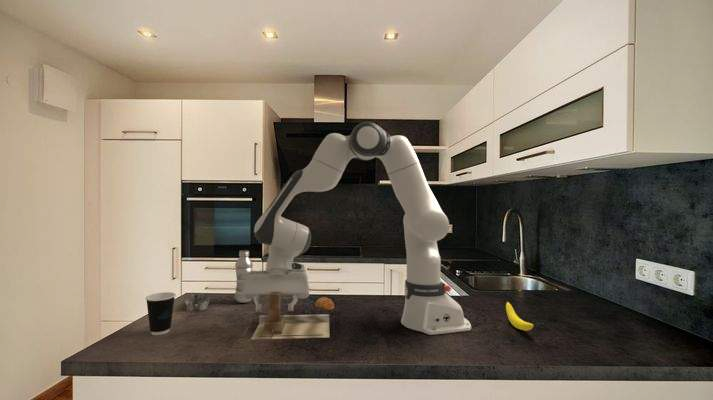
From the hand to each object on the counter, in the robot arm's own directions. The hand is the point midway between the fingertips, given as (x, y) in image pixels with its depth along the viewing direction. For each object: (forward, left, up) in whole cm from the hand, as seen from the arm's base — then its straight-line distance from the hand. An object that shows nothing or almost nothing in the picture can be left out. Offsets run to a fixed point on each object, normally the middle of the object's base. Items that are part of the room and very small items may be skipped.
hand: (274, 310), depth 100 cm
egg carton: (+32, -29, -8) cm, 44 cm away
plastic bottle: (+17, -33, -8) cm, 37 cm away
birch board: (-5, -1, -7) cm, 9 cm away
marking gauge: (0, -1, -6) cm, 6 cm away
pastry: (-15, -23, -8) cm, 29 cm away
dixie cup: (+35, -5, -8) cm, 36 cm away
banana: (-77, -1, -8) cm, 78 cm away
